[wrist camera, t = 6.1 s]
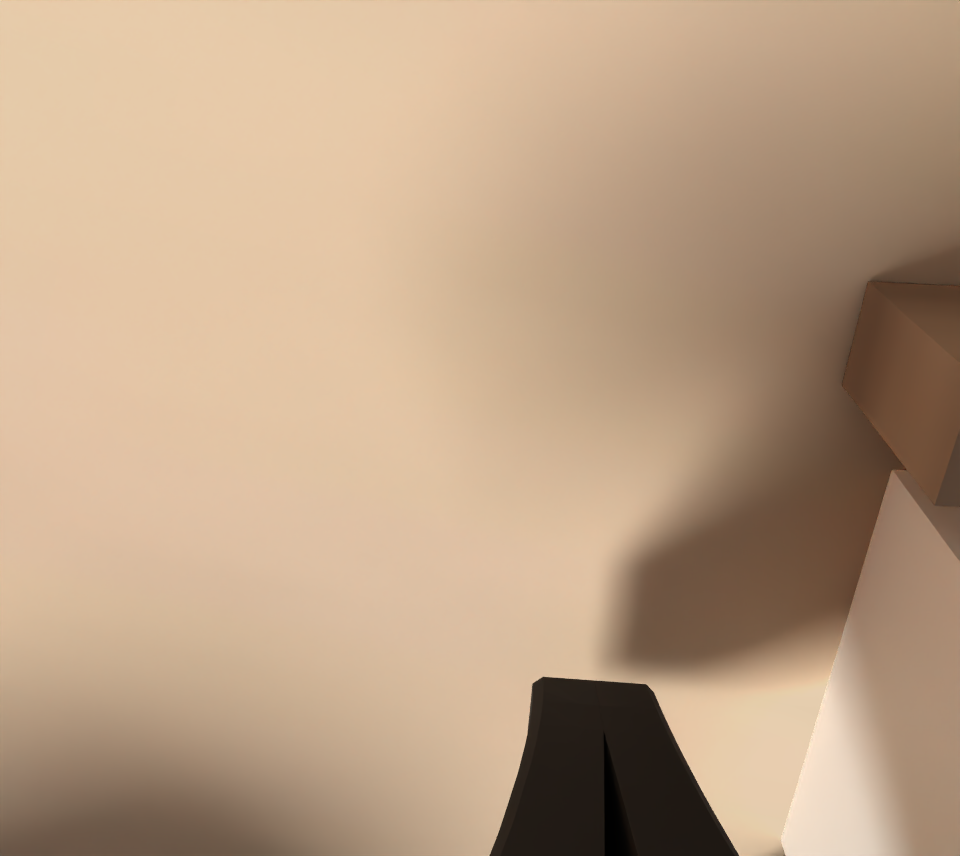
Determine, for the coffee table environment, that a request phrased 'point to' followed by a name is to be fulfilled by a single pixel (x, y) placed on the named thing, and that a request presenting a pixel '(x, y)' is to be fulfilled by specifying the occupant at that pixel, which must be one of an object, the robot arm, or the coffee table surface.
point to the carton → (891, 698)
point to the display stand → (912, 379)
